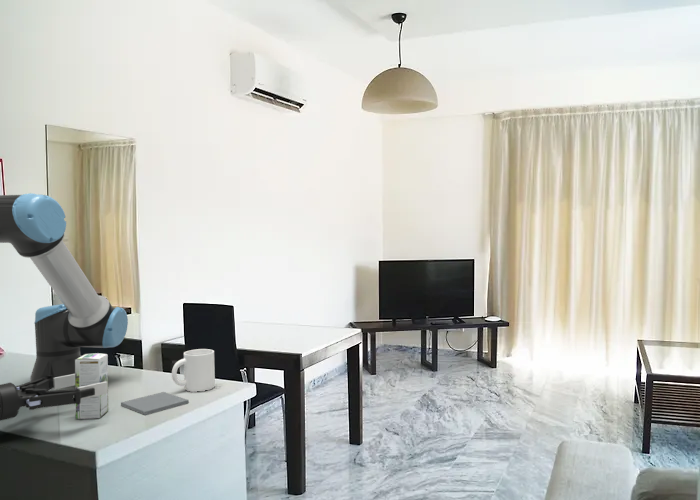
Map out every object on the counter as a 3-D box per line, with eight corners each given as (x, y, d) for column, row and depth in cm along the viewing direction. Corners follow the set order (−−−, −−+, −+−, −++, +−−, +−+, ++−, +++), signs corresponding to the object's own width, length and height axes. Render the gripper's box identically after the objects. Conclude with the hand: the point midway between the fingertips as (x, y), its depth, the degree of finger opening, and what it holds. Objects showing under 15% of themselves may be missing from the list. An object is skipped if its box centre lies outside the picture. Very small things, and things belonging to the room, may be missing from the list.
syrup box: (84, 412, 137) (83, 353, 137) (109, 411, 138) (107, 352, 138) (75, 419, 132) (73, 358, 131) (101, 418, 132) (99, 357, 132)
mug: (177, 396, 149) (176, 358, 149) (167, 390, 156) (166, 353, 155) (219, 388, 156) (218, 352, 156) (208, 382, 163) (207, 347, 163)
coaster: (120, 405, 142) (120, 402, 142) (163, 394, 151) (163, 391, 151) (145, 415, 134) (144, 411, 134) (188, 403, 143) (188, 399, 143)
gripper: (13, 397, 111) (117, 375, 127) (-25, 377, 127) (71, 360, 143) (15, 434, 111) (118, 408, 127) (-24, 409, 127) (72, 389, 143)
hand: (93, 382), depth 135 cm, fingers open, 13 cm apart
